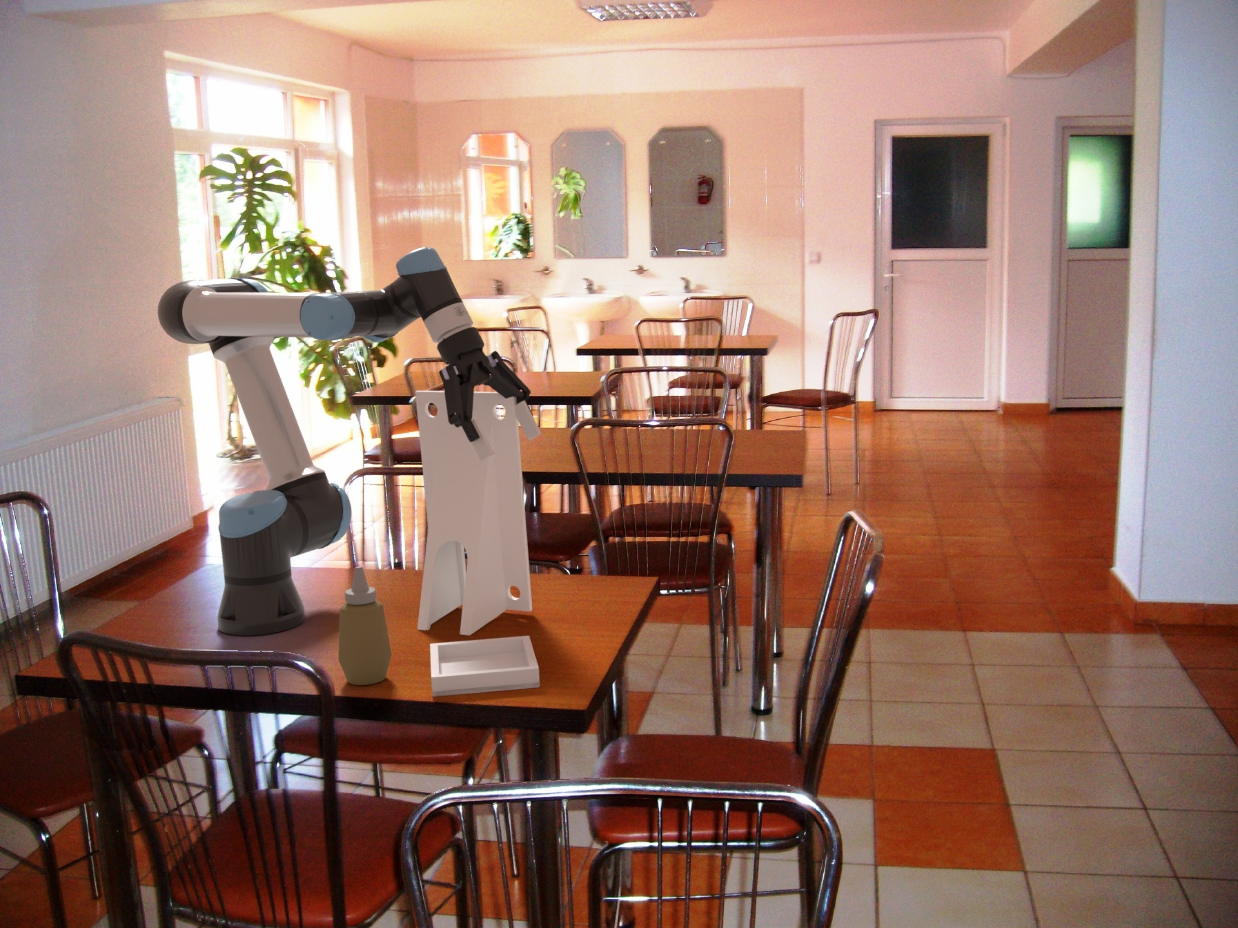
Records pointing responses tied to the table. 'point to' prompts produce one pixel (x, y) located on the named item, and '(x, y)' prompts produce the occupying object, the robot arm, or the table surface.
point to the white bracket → (472, 515)
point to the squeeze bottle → (363, 634)
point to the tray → (483, 666)
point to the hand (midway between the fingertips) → (512, 447)
